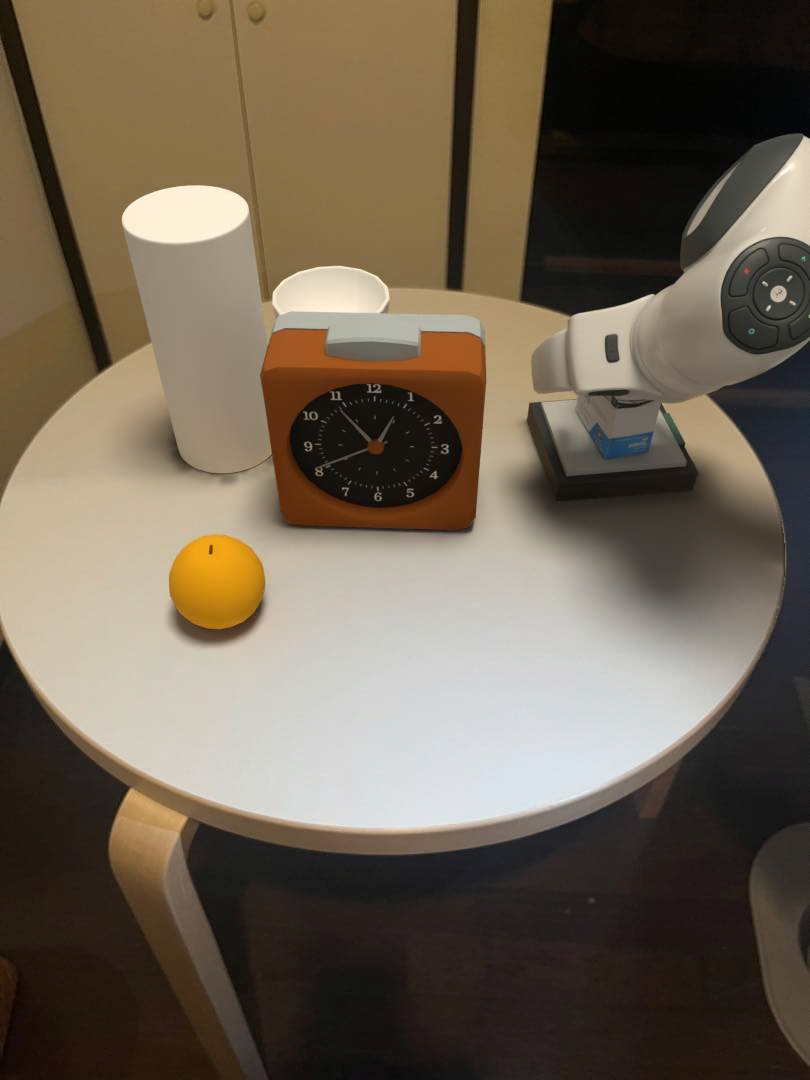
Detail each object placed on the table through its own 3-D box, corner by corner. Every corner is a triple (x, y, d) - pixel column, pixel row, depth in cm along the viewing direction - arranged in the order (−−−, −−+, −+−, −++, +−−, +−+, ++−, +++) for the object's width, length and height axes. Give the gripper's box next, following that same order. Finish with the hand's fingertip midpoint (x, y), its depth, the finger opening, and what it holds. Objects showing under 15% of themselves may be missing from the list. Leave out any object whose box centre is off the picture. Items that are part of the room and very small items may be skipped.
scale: (651, 410, 95) (657, 387, 92) (693, 490, 86) (700, 467, 83) (526, 420, 93) (529, 397, 91) (555, 502, 85) (559, 478, 82)
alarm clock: (280, 528, 82) (252, 343, 67) (293, 467, 88) (269, 285, 73) (474, 533, 82) (489, 348, 67) (473, 472, 88) (487, 289, 73)
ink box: (650, 454, 85) (678, 352, 76) (603, 461, 84) (625, 359, 76) (617, 402, 91) (639, 302, 82) (573, 408, 90) (590, 308, 81)
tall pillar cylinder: (300, 435, 92) (274, 208, 74) (225, 488, 86) (177, 255, 68) (232, 396, 96) (192, 173, 78) (156, 444, 91) (94, 215, 73)
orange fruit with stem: (162, 634, 73) (142, 575, 68) (198, 567, 79) (182, 508, 73) (251, 651, 72) (238, 593, 67) (281, 581, 77) (272, 522, 72)
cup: (260, 394, 97) (247, 307, 89) (320, 340, 104) (313, 255, 96) (355, 428, 92) (350, 339, 84) (410, 369, 100) (411, 282, 92)
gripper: (798, 298, 70) (721, 335, 84) (552, 315, 69) (515, 350, 82) (803, 375, 70) (726, 400, 84) (559, 394, 69) (521, 416, 82)
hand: (620, 375), depth 83 cm, fingers open, 8 cm apart
